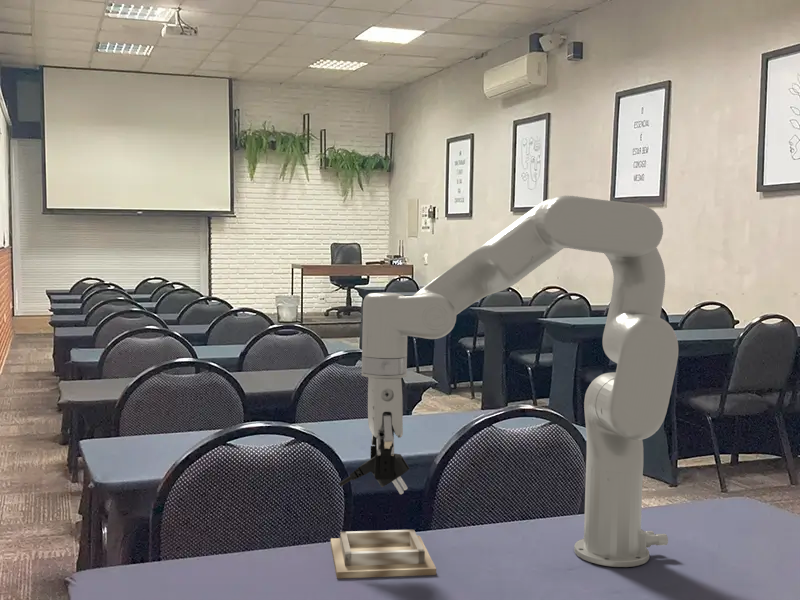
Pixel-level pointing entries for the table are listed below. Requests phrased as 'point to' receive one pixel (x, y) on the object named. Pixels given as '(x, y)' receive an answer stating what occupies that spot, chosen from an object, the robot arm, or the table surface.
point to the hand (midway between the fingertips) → (382, 472)
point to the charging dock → (380, 554)
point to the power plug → (370, 467)
